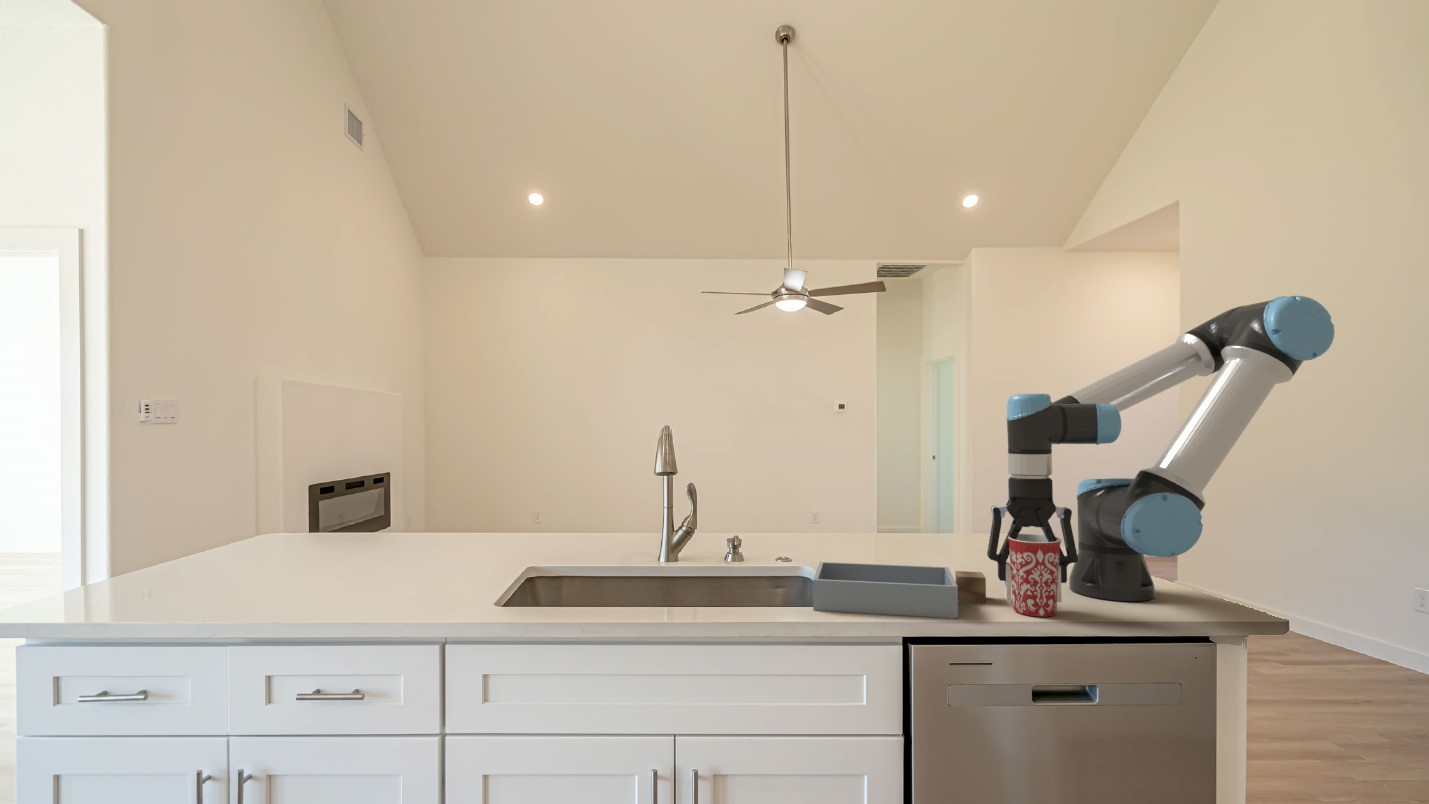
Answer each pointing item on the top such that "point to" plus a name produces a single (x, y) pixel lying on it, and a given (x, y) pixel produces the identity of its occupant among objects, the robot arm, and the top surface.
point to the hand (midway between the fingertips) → (1032, 599)
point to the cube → (971, 587)
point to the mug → (1034, 574)
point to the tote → (885, 589)
